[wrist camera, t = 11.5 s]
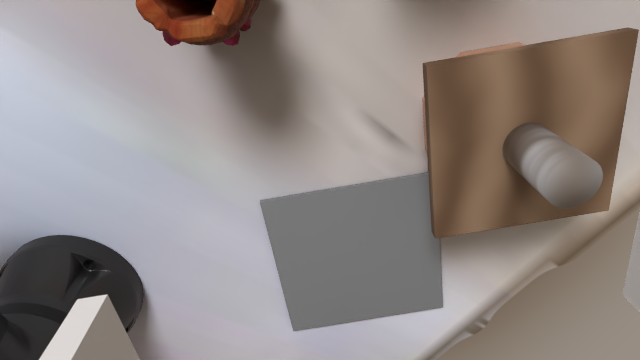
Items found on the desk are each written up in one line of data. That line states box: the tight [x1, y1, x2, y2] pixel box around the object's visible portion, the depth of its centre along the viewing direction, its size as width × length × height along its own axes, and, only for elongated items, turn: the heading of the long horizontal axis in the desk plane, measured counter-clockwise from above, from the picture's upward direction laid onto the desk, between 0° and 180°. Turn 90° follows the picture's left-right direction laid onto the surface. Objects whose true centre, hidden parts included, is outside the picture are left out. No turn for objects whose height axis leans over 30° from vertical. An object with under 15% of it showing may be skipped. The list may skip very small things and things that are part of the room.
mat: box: [260, 172, 443, 331], centre depth 51 cm, size 19×19×1 cm
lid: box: [423, 28, 639, 239], centre depth 34 cm, size 16×16×8 cm
